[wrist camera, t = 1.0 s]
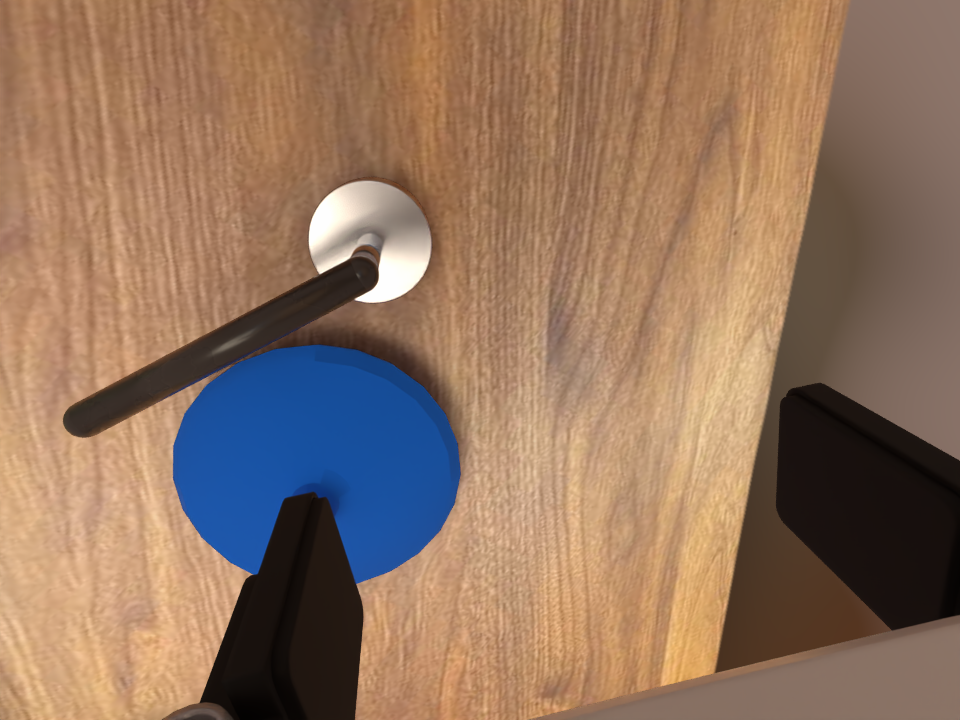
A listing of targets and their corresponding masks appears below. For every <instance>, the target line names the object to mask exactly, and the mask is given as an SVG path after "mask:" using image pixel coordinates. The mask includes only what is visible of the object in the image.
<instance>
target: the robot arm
mask: <svg viewBox="0 0 960 720" xmlns="http://www.w3.org/2000/svg"><path fill="white" fill-rule="evenodd" d="M779 420H780V421H779V443H778V469H777V492H776V508H777V512H778V514H779V517H780V518H781V520H782V521H783V523H784V524H785V525H786V526H787V527H788V528H789V529H790V530H791V531H792V532H794V534H795V535H796V536H797V537H798V538H799V539H800V540H802V542H804V544H805V545H806V546H807V547H808V548H810V549H811V550H812V551H813V552H814V554H816V555H817V556H818V557H819V558H820V559H821V560H822V561H823V562H824V563H825V564H826V565H827V566H828V567H829V568H830V569H831V570H832V571H833V572H834V573H835V574H836V575H837V576H838V577H839V578H840V579H841V580H842V581H843V582H844V583H845V584H846V585H847V586H848V587H849V588H850V589H851V590H852V591H853V592H854V593H855V594H856V595H857V596H858V597H859V598H860V599H861V600H862V601H863V602H864V603H865V604H866V605H867V606H868V607H869V608H870V609H871V610H872V611H873V612H874V613H875V614H876V615H877V616H878V617H879V618H880V619H881V620H882V621H883V622H884V623H885V624H886V625H887V626H888V627H889V628H890V629H891V630H892V631H889V632H885V633H881V634H877V635H873V636H868V637H864V638H860V639H856V640H852V641H847V642H844V643H839V644H835V645H830V646H826V647H822V648H818V649H814V650H809V651H805V652H801V653H797V654H793V655H789V656H785V657H781V658H776V659H772V660H768V661H764V662H760V663H756V664H752V665H747V666H744V667H739V668H735V669H731V670H727V671H723V672H719V673H715V674H711V675H706V676H702V677H698V678H694V679H690V680H686V681H682V682H678V683H674V684H670V685H666V686H662V687H658V688H653V689H649V690H645V691H641V692H637V693H633V694H629V695H625V696H621V697H617V698H613V699H609V700H605V701H601V702H597V703H593V704H589V705H585V706H581V707H577V708H573V709H569V710H565V711H561V712H557V713H553V714H549V715H545V716H541V717H537V718H533V719H529V720H960V461H959V460H958V459H956V458H954V457H952V456H951V455H949V454H947V453H945V452H943V451H942V450H940V449H938V448H936V447H934V446H933V445H931V444H929V443H927V442H926V441H924V440H922V439H920V438H919V437H917V436H915V435H913V434H912V433H910V432H908V431H906V430H904V429H903V428H901V427H899V426H897V425H895V424H894V423H892V422H890V421H889V420H886V419H885V418H883V417H881V416H880V415H878V414H876V413H874V412H873V411H871V410H869V409H867V408H866V407H864V406H862V405H860V404H858V403H857V402H855V401H853V400H851V399H850V398H848V397H846V396H844V395H842V394H841V393H839V392H837V391H835V390H833V389H832V388H830V387H828V386H826V385H825V384H822V383H815V384H811V385H806V386H802V387H797V388H792V389H791V390H789V391H788V393H787V395H786V397H784V398H783V399H782V400H781V403H780V419H779ZM362 630H363V606H362V601H361V597H360V594H359V591H358V588H357V585H356V582H355V579H354V576H353V573H352V570H351V567H350V564H349V561H348V558H347V555H346V552H345V549H344V546H343V543H342V540H341V536H340V533H339V530H338V527H337V524H336V521H335V518H334V515H333V512H332V509H331V506H330V503H329V501H328V499H327V497H322V498H318V496H317V494H316V493H315V492H310V493H305V494H301V495H296V496H291V497H287V498H284V500H283V502H282V505H281V508H280V511H279V514H278V517H277V519H276V522H275V525H274V528H273V531H272V534H271V537H270V540H269V543H268V546H267V549H266V551H265V554H264V557H263V560H262V563H261V566H260V569H259V572H258V574H256V575H251V576H249V577H248V578H247V579H246V580H245V582H244V584H243V586H242V589H241V592H240V595H239V597H238V600H237V603H236V605H235V608H234V611H233V614H232V616H231V619H230V622H229V624H228V627H227V630H226V633H225V635H224V638H223V641H222V644H221V646H220V649H219V652H218V654H217V657H216V660H215V663H214V665H213V668H212V671H211V673H210V676H209V679H208V682H207V684H206V687H205V690H204V692H203V695H202V698H201V701H200V703H198V704H192V705H189V706H187V707H184V708H182V709H179V710H177V711H175V712H173V713H171V714H170V715H168V716H167V717H165V718H164V719H162V720H355V710H356V699H357V687H358V676H359V664H360V653H361V641H362Z"/></svg>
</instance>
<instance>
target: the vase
mask: <svg viewBox="0 0 960 720" xmlns="http://www.w3.org/2000/svg"><path fill="white" fill-rule="evenodd" d="M460 475H461V473H460V463H459V452H458V443H457V441H456V438H455V436H454V434H453V431H452V429H451V426H450V424H449V421H448V419H447V417H446V414H445V413H444V412H443V410H442V409H441V408H440V407H439V405H438V404H437V403H436V402H435V400H434V399H433V398H432V397H431V395H430V394H429V393H428V392H427V390H426V389H425V388H424V387H423V386H422V385H420V384H419V383H418V382H416V381H415V380H414V379H412V378H411V377H409V376H408V375H407V374H405V373H404V372H403V371H401V370H400V369H398V368H397V367H396V366H394V365H393V364H391V363H390V362H387V361H385V360H382V359H380V358H377V357H375V356H372V355H369V354H367V353H364V352H362V351H359V350H357V349H350V348H343V347H335V346H328V345H321V344H318V345H308V346H298V347H289V348H279V349H274V350H271V351H269V352H266V353H263V354H260V355H258V356H255V357H252V358H249V359H247V360H244V361H241V362H239V363H237V364H235V365H234V366H233V367H231V368H230V369H228V370H227V371H226V372H224V373H223V374H221V375H220V376H219V377H217V378H216V379H214V380H213V381H212V382H210V383H209V384H207V385H206V387H205V388H204V389H203V390H202V392H201V393H200V394H199V396H198V397H197V398H196V400H195V401H194V402H193V403H192V405H191V406H190V407H189V409H188V410H187V411H186V413H185V414H184V417H183V420H182V423H181V426H180V428H179V431H178V434H177V437H176V440H175V443H174V445H173V480H174V483H175V486H176V489H177V493H178V496H179V499H180V502H181V505H182V508H183V511H184V512H185V514H186V515H187V517H188V518H189V519H190V521H191V522H192V524H193V525H194V527H195V528H196V530H197V531H198V533H199V534H200V536H201V537H202V538H203V539H204V540H205V541H206V542H207V543H208V544H210V545H211V546H212V547H213V548H214V549H215V550H217V551H218V552H219V553H220V554H221V555H222V556H223V557H225V558H226V559H227V560H228V561H229V562H230V563H232V564H234V565H236V566H238V567H240V568H242V569H244V570H246V571H248V572H250V573H251V574H253V575H256V574H258V572H259V569H260V566H261V563H262V560H263V557H264V554H265V551H266V549H267V546H268V543H269V540H270V537H271V534H272V531H273V528H274V525H275V522H276V519H277V517H278V514H279V511H280V508H281V505H282V502H283V500H284V498H287V497H291V496H296V495H301V494H305V493H310V492H315V493H316V494H317V496H318V498H322V497H327V499H328V501H329V503H330V506H331V509H332V512H333V515H334V518H335V521H336V524H337V527H338V530H339V533H340V536H341V540H342V543H343V546H344V549H345V552H346V555H347V558H348V561H349V564H350V567H351V570H352V573H353V576H354V579H355V582H356V584H357V583H360V582H363V581H366V580H368V579H371V578H374V577H376V576H379V575H382V574H385V573H387V572H390V571H392V570H393V569H395V568H397V567H398V566H400V565H401V564H403V563H404V562H406V561H407V560H409V559H411V558H412V557H414V556H415V555H417V554H418V553H419V552H420V551H421V550H422V549H423V548H424V547H425V546H426V545H427V544H428V543H429V542H430V541H431V540H432V539H433V538H434V537H435V536H436V534H437V533H438V532H439V531H440V530H441V528H442V526H443V524H444V522H445V521H446V519H447V517H448V515H449V513H450V511H451V509H452V508H453V506H454V504H455V499H456V494H457V489H458V485H459V480H460Z"/></svg>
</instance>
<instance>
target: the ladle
mask: <svg viewBox="0 0 960 720" xmlns="http://www.w3.org/2000/svg"><path fill="white" fill-rule="evenodd" d="M308 247H309V252H310V256H311V259H312V262H313V265H314V267H315V268H316V270H317V272H318V274H319V275H317V276H315V277H313V278H312V279H310V280H308V281H306V282H304V283H302V284H300V285H298V286H296V287H295V288H293V289H291V290H289V291H287V292H285V293H283V294H281V295H279V296H277V297H276V298H274V299H272V300H270V301H268V302H266V303H264V304H262V305H260V306H259V307H257V308H255V309H253V310H251V311H249V312H247V313H245V314H243V315H242V316H240V317H238V318H236V319H234V320H232V321H230V322H228V323H226V324H225V325H223V326H221V327H219V328H217V329H215V330H213V331H211V332H209V333H208V334H206V335H204V336H202V337H200V338H198V339H196V340H194V341H192V342H191V343H189V344H187V345H185V346H183V347H181V348H179V349H177V350H175V351H173V352H172V353H170V354H168V355H166V356H164V357H162V358H160V359H158V360H156V361H155V362H153V363H151V364H149V365H147V366H145V367H143V368H141V369H139V370H138V371H136V372H134V373H132V374H130V375H128V376H126V377H124V378H122V379H121V380H119V381H117V382H115V383H113V384H111V385H109V386H107V387H105V388H104V389H102V390H100V391H98V392H96V393H94V394H92V395H90V396H88V397H87V398H85V399H83V400H81V401H79V402H77V403H75V404H73V405H72V406H70V407H69V408H68V409H67V411H66V412H65V414H64V417H63V424H64V427H65V429H66V430H67V431H68V432H69V433H70V434H72V435H74V436H77V437H82V438H86V437H92V436H94V435H97V434H99V433H101V432H102V431H104V430H106V429H108V428H110V427H112V426H114V425H116V424H118V423H120V422H122V421H123V420H125V419H127V418H129V417H131V416H133V415H135V414H137V413H139V412H141V411H143V410H144V409H146V408H148V407H150V406H152V405H154V404H156V403H158V402H160V401H162V400H164V399H165V398H167V397H169V396H171V395H173V394H175V393H177V392H179V391H181V390H183V389H185V388H186V387H188V386H190V385H192V384H194V383H196V382H198V381H200V380H202V379H204V378H206V377H207V376H209V375H211V374H213V373H215V372H217V371H219V370H221V369H223V368H225V367H227V366H228V365H230V364H232V363H234V362H236V361H238V360H240V359H242V358H244V357H246V356H248V355H249V354H251V353H253V352H255V351H257V350H259V349H261V348H263V347H265V346H267V345H268V344H270V343H272V342H274V341H276V340H278V339H280V338H282V337H284V336H286V335H288V334H289V333H291V332H293V331H295V330H297V329H299V328H301V327H303V326H305V325H307V324H309V323H310V322H312V321H314V320H316V319H318V318H320V317H322V316H324V315H326V314H328V313H330V312H331V311H333V310H335V309H337V308H339V307H341V306H343V305H345V304H347V303H349V302H351V301H352V300H354V301H358V302H363V303H383V302H388V301H392V300H395V299H397V298H399V297H402V296H403V295H405V294H407V293H408V292H409V291H411V290H412V289H413V288H414V287H415V286H416V285H417V284H418V283H419V282H420V280H421V279H422V278H423V276H424V274H425V272H426V271H427V268H428V266H429V263H430V260H431V255H432V235H431V229H430V226H429V223H428V220H427V216H426V214H425V212H424V209H423V208H422V206H421V204H420V203H419V202H418V200H417V199H416V198H415V197H414V196H413V195H412V194H411V193H410V192H409V191H408V190H407V189H405V188H404V187H403V186H401V185H399V184H397V183H395V182H393V181H391V180H388V179H384V178H379V177H363V178H357V179H354V180H351V181H349V182H346V183H344V184H342V185H341V186H339V187H337V188H336V189H334V190H333V191H331V192H330V193H329V194H328V195H327V196H325V197H324V199H323V200H322V201H321V202H320V203H319V205H318V206H317V208H316V209H315V211H314V213H313V216H312V218H311V221H310V225H309V230H308Z"/></svg>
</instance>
